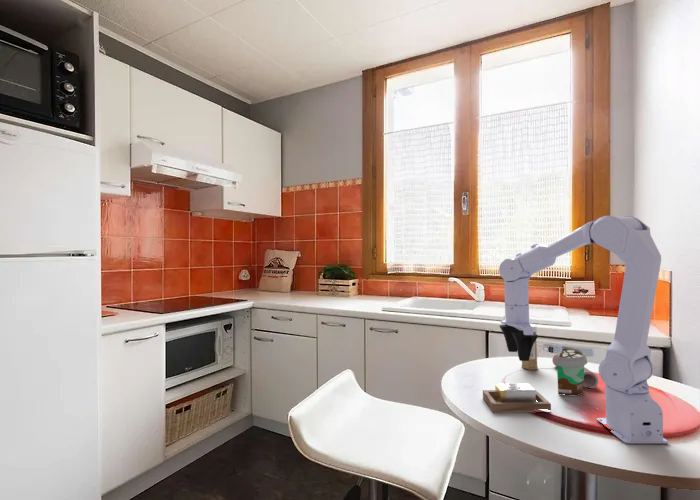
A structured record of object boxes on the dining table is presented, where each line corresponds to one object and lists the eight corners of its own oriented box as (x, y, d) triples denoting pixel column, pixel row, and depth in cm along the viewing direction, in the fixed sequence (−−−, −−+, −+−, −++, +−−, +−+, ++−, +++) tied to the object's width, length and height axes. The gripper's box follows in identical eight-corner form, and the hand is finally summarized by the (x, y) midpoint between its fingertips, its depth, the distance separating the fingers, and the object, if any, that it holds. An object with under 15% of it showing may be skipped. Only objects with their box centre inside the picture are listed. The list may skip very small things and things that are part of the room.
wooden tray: (551, 412, 84) (550, 403, 84) (493, 412, 85) (492, 404, 85) (535, 397, 92) (535, 389, 92) (482, 398, 93) (482, 390, 93)
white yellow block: (535, 406, 86) (535, 390, 86) (501, 407, 87) (500, 390, 87) (528, 399, 90) (528, 383, 90) (495, 399, 91) (495, 383, 91)
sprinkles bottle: (539, 367, 113) (538, 324, 113) (534, 371, 110) (533, 327, 110) (524, 364, 117) (523, 322, 117) (518, 368, 114) (517, 325, 113)
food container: (586, 402, 88) (585, 361, 88) (557, 397, 92) (556, 357, 92) (589, 385, 98) (588, 348, 98) (563, 381, 102) (562, 345, 102)
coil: (600, 373, 96) (568, 353, 114) (581, 371, 96) (552, 351, 114) (598, 391, 96) (566, 367, 114) (579, 388, 97) (550, 366, 114)
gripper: (492, 300, 103) (493, 348, 104) (511, 309, 89) (513, 365, 89) (517, 299, 103) (519, 347, 103) (541, 308, 88) (542, 364, 89)
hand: (518, 355), depth 96 cm, fingers open, 7 cm apart
